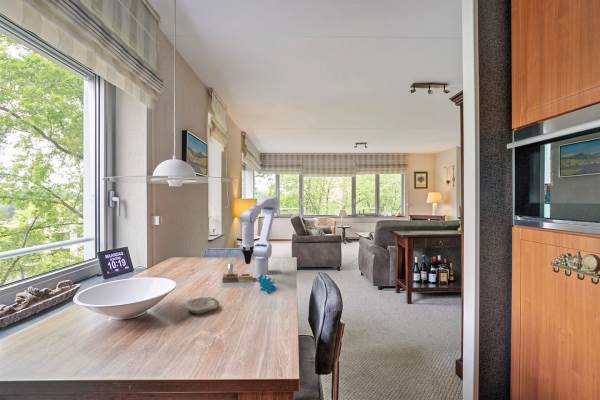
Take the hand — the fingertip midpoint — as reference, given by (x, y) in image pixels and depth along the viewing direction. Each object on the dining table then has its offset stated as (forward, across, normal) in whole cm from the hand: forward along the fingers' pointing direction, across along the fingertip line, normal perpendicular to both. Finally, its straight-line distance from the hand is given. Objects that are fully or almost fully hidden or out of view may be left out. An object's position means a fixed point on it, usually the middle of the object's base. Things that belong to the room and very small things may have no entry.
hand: (247, 262), depth 150 cm
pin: (+9, 0, -9) cm, 13 cm away
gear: (+10, +18, +9) cm, 22 cm away
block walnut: (+9, 0, -9) cm, 12 cm away
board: (+10, +3, -4) cm, 11 cm away
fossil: (+10, +36, -16) cm, 40 cm away
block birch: (+9, 0, -1) cm, 9 cm away
